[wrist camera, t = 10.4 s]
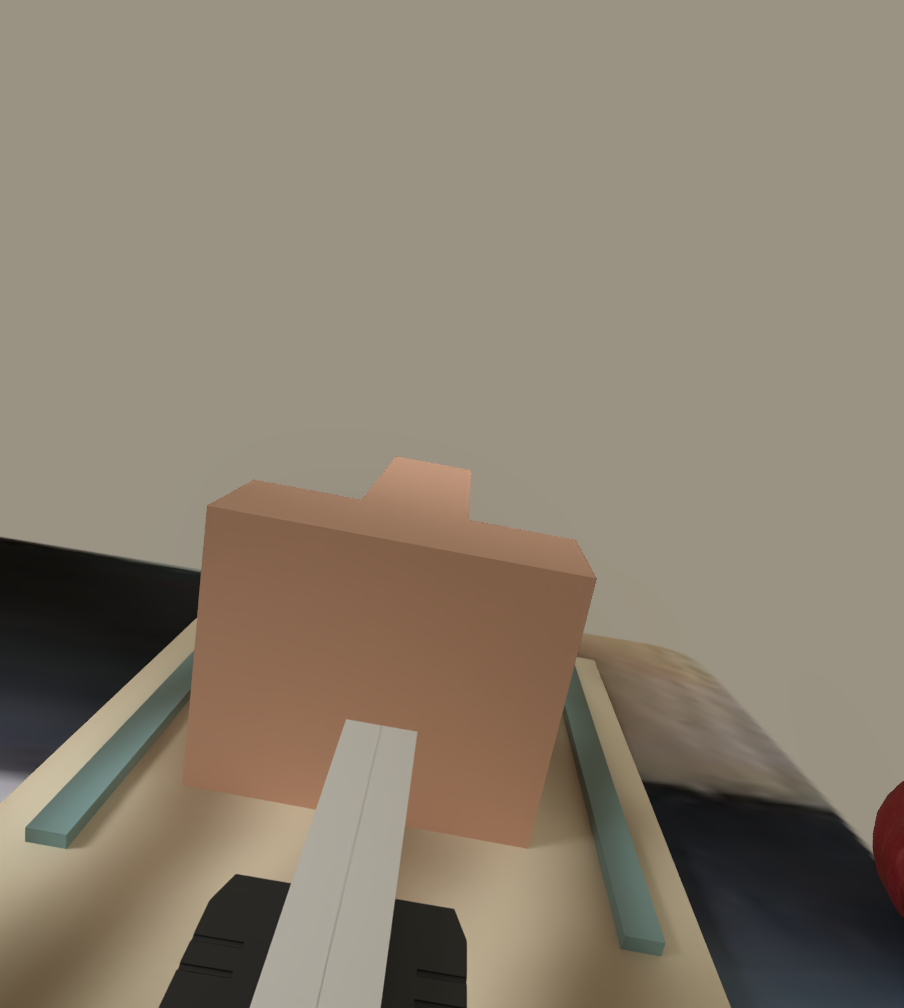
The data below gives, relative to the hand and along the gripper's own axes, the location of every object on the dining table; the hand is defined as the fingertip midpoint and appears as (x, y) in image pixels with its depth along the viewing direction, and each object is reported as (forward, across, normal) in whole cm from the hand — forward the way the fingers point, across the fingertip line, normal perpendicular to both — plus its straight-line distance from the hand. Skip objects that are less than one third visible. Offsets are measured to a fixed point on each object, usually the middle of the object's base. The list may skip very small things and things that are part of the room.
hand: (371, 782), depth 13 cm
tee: (+14, -1, -7) cm, 15 cm away
